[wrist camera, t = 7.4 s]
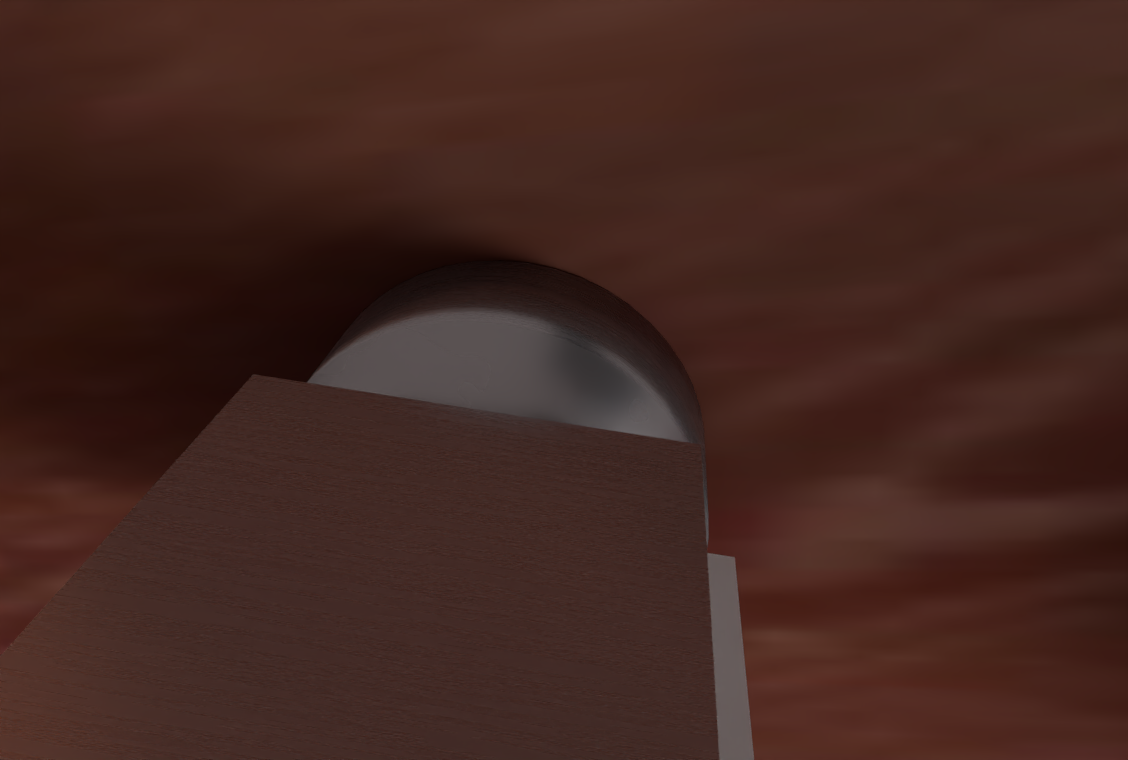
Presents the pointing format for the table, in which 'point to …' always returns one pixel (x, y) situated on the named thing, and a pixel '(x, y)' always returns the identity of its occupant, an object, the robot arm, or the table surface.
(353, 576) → the light grey block
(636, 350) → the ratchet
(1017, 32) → the table surface
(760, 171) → the table surface
